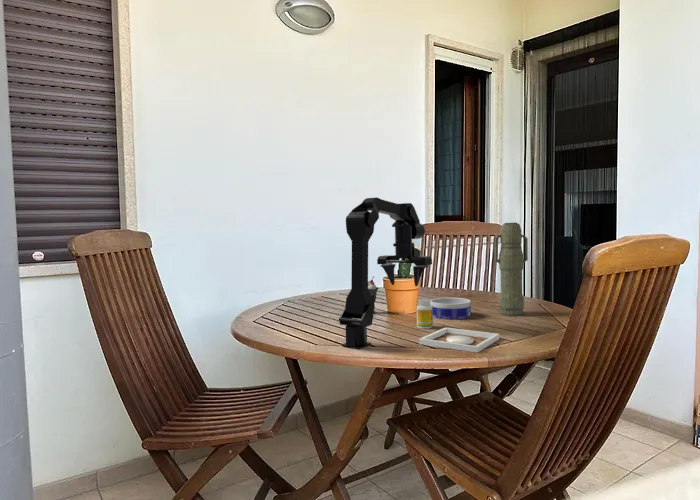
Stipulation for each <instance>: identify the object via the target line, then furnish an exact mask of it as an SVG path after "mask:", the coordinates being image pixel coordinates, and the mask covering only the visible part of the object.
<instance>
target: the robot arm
mask: <svg viewBox="0 0 700 500" xmlns="http://www.w3.org/2000/svg"><path fill="white" fill-rule="evenodd" d="M379 213H380V214H383V215H388V216H389V218H390V219H392V220H393V221H394V222H393V223H392V224H391V227H392V228H394V239H395V240H394V243H393V244H392V245H393V247H395V248H394V249H395V251H394V252H395V253H394V255H392V254H391V255H378V257H377V260H376V263H377V265H379V266H380V267H382V269H383V270H384V272H385V274H386V276H387V278H388V280H389V282H390V284H391V286H394V285H395V267H396V264H414V265H415V266H413V267H412V269H413V280H414V287H418V286H419V283H420V280H421V277H422V274H423V272H424V270H425V269H426V268H429V266H431V265H433V259H432V257H431V256H429V255H428V256H427V255H421V254H422V253H421V252H422V250H420V249H418V248H416V247H415V242H413V240H419V239H422V238H423V237H424V236H425V234H426V229H425V227H424V225H423V224H422V223H420V222H421V220H420V218H419V216H418V213H417V210H416V208H415V207H414V204H412V203H411V202H404V203H395V202H392V201H390V200H385V199H381V198H380V197H376V196H375V197H367V198H364V199H363V200H362V201H361V203H360V204H358V205H357V206H355V207H354V208H352V210H350V212H349V213H348V214H347V215H346V217H345V228H346V229H345V230H346V233H347V236H348V237H349V239H350V240H351V279H350V281H351V283H350V286H351V287H350V288H351V289H350V290H349V293H348V294H347V296H346V297H345V298H346V299H345V306H344V308H343V309H342V311H341V314H340V316H339V317H338V322H339V324H340V326H345V342H344V343H341V347H345V348H351V349H358V350H361V349H363V348H364V347H368V346H370V345H372V342H371V341H370V342H369V341H368V330H367V329H368V327H370V326H373V319H374V315H375V314H374V311H375V308H376V306H375V305H376V304H375V302H374V300H375V297H374V295H371V294H370V292H369V290H368V282H369V241H370V239H371V238H372V236H373V234H374V230H375V224H376V223H377V222H378V220H379V219H380V214H379Z"/></svg>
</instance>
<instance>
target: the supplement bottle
mask: <svg viewBox="0 0 700 500" xmlns="http://www.w3.org/2000/svg"><path fill="white" fill-rule="evenodd" d="M430 300H431V299H430V298H419V299H418V305H417V307H416V327H417V328H418V329H423V330H425V329H427V330H428V329H433V326H434V325H433V322H434V321H433V318H434V317H433V314H432V306H431V305H430Z"/></svg>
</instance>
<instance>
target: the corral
mask: <svg viewBox="0 0 700 500" xmlns="http://www.w3.org/2000/svg"><path fill="white" fill-rule="evenodd" d="M445 333H446V334H453V335H458V336H468V337H476V338H477V337H478V338H484V339H485V340H483V341H481V342H479V343H477V344H476V345H471V344H467V345H465V344H458V343H451V342H447V341H441V340H435V339H436V338H438V337H441V336H444V335H445ZM500 335H501V334H500V333H496V332H488V331H478V330H468V329H461V328H454V327H453V328H452V327H443V328H440V329H439V330H437V331H434V332H431V333H429V334H427V335H425V336H423V337H420V338H419V339H418V344H419V345H422V344H423V345H424V346H430V347H437V348H444V349H445V348H446V349H450V348H451V349H452V350H456V351H457V350H458V351H464V352H472V353H479V352H481V351H482V350H484V349H485V348H487V347H490V346H491V345H492V344H494V343H495V342H497V341H498V340H499V339H500V338H501V337H500ZM423 345H422V346H423ZM451 349H450V350H451Z"/></svg>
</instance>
